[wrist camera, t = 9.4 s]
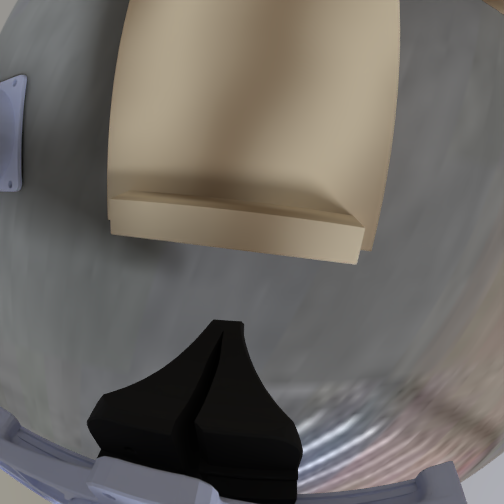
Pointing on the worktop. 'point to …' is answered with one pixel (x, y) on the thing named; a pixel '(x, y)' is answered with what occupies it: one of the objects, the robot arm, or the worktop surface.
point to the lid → (254, 124)
